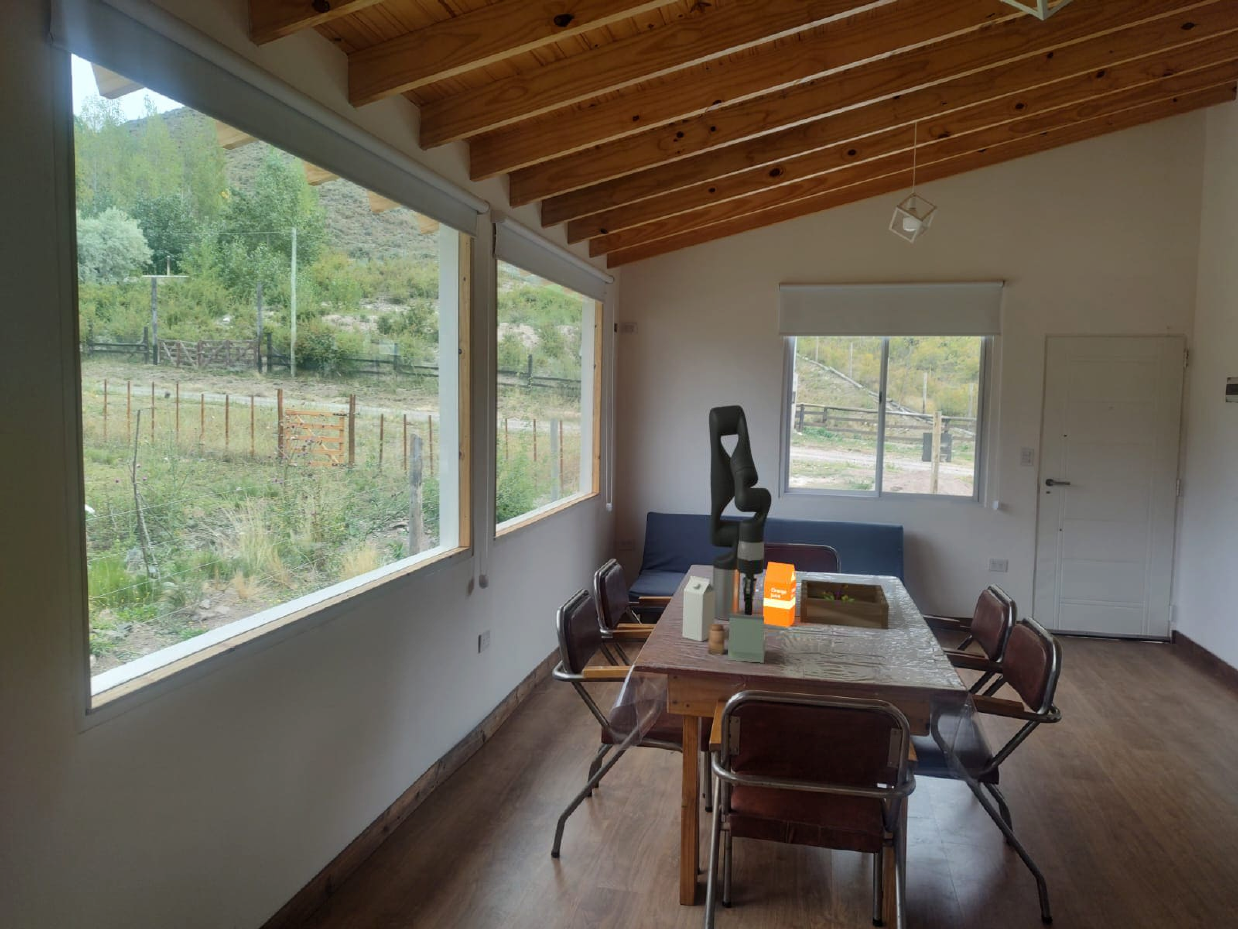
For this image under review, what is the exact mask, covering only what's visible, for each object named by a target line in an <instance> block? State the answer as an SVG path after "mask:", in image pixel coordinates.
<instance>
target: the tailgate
mask: <svg viewBox="0 0 1238 929" xmlns="http://www.w3.org/2000/svg"><path fill="white" fill-rule="evenodd" d="M728 626H729V630H728V631H729V632H728V633H729V635H728V636H729V637H728V644H729V651H734V652H744V653H755V654H763V641H764V633H765V623H764V616H763V615H753V614H752V615H745V614H740V613H739V614H730V620H729V625H728Z"/></svg>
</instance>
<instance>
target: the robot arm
mask: <svg viewBox="0 0 1238 929" xmlns="http://www.w3.org/2000/svg"><path fill="white" fill-rule="evenodd" d="M745 413H746V412H745V411H744V409H743V408H742V406H741V405H737V404H736V405H735V404H733V405H725V406H716V407H715V406H714V407H712V408H711V409H710V410H709V413H708V414H709V415H708V427H709V428H708V429H709V440H710V441H709V442H710V477H709V478H710V479H709V480H710V482H709V483H710V504H711V506H710V507H711V508H710V523H709V524H710V525H709V541H710V543H711V545H712V546H713V547H717V548H731V550H730V551H729V552H726V553H724V554H721V555H717V556H716V557H714V558H713V561H712V562H713V563H712V564H713V565H712V586H713V588H714V589H715V615H714V619H715V620H723V621H730V614H740V611H739V610H740V595H741V594H740V593H741V592H740V591H741V587H740V586H741V584H742V595H743V601H744V613H743V615H753V610H754V609H753V608H754V607H753V606H754V601H755V594H756V587H757V584H758V583H757V581H758V578H757V577H755V575H761V574H763V573H764V565H765V564H764V560H765V546H764V545H765V544H764V540H765V539H764V538H765V536H764V535H765V525H766V522H767V519H768V516H769V513H770V510H771V507H772V501H773V500H772V495H771V492H770V490H769V489H767V488H766V487H755V486H756V485H757V484H758V482H759V475H758V471H757V468H756V465H755V462H754V459H753V455H752V449H751V441H750V436H749V434H750V433H749V429H748V428H749V427H748V422H747V417H746V414H745ZM735 435H736V436H737V438H738V439H737V442H736V446H735V448H734V449H733V451H732V454H731V456H730V455H729V453H728V451H727V450H726V449H725V447H724V445H723V443H722V437H727V436H735ZM733 499H734V501H733V503H734V507H735V508H736V509H737V510H738V511H739V512H741V513H754V515H753V516H752V517H750V518H747V519H744V520H742V521H740V520H735V519H734V520H732V519H721V517H722V515H723V513H724V511H725V509H726V508H727V507H728V505H729V504H730V503H731V501H732V500H733ZM741 574H743V575H744V576H743V577H742V583H741Z"/></svg>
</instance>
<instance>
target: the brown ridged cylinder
mask: <svg viewBox="0 0 1238 929" xmlns="http://www.w3.org/2000/svg"><path fill="white" fill-rule="evenodd" d="M725 634H726V629H725V628H724V625H723V624H722V623H714V624H711V628H709V639H708V649H707V650H708V651H707V652H709V653H708V654H710V653H711V654H710V655H712V654H722V655H725V638H726V637H725Z"/></svg>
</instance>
